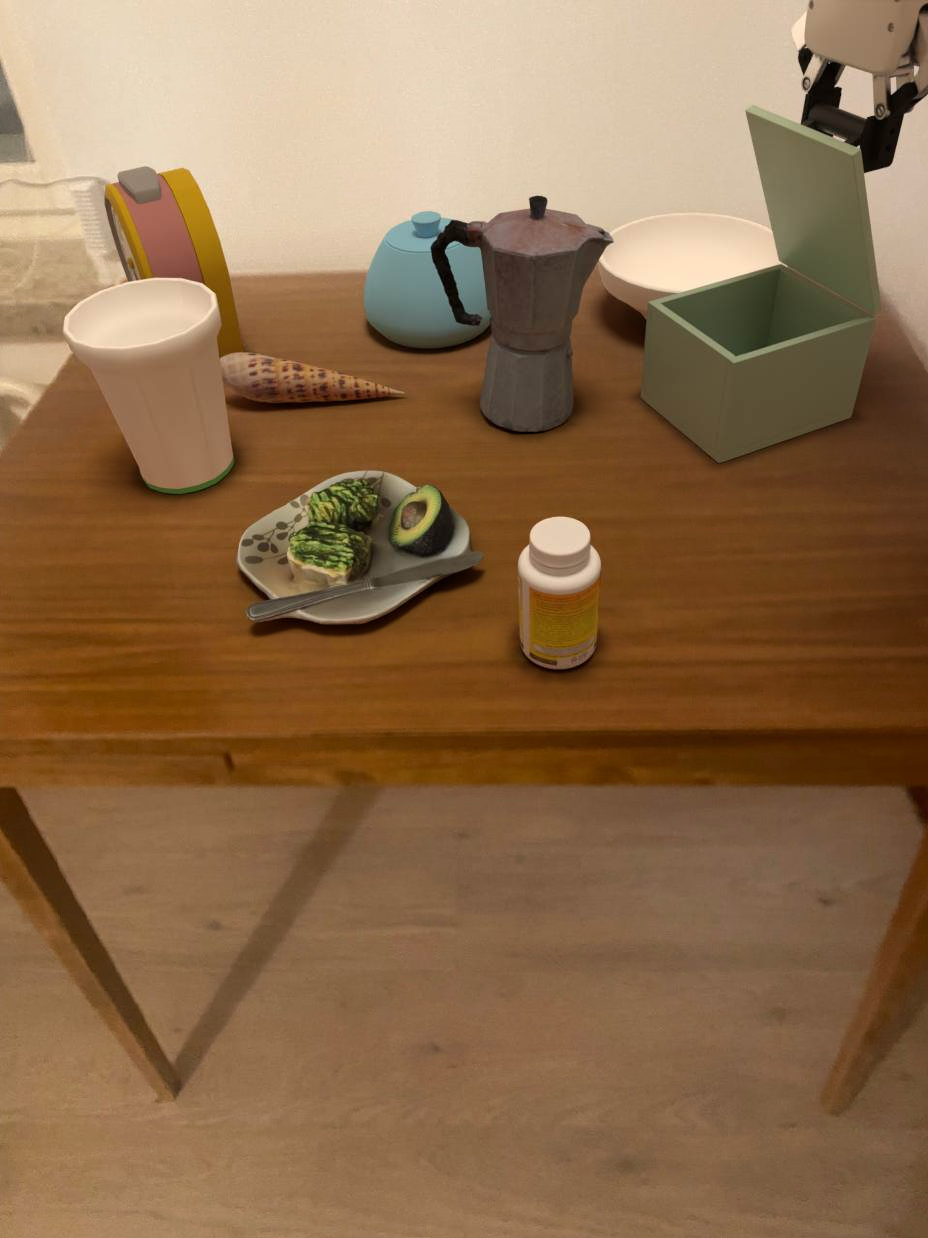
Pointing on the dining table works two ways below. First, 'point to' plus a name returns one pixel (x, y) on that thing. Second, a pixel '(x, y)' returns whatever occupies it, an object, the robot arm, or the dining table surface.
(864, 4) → the robot arm
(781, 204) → the box lid
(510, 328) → the moka pot
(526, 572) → the supplement bottle
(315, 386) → the seashell
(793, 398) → the green hinged box
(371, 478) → the avocado toast plate
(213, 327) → the cup
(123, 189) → the alarm clock
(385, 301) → the sugar bowl
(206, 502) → the dining table surface
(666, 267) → the bowl
